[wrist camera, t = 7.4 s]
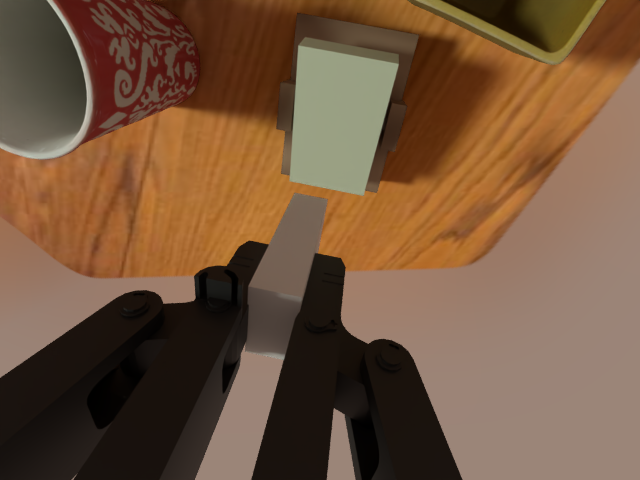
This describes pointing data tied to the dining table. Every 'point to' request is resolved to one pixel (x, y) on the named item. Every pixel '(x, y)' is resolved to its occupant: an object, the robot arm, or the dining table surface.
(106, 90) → the mug
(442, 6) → the flower pot
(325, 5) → the dining table surface
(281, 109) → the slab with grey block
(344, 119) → the rocker green
